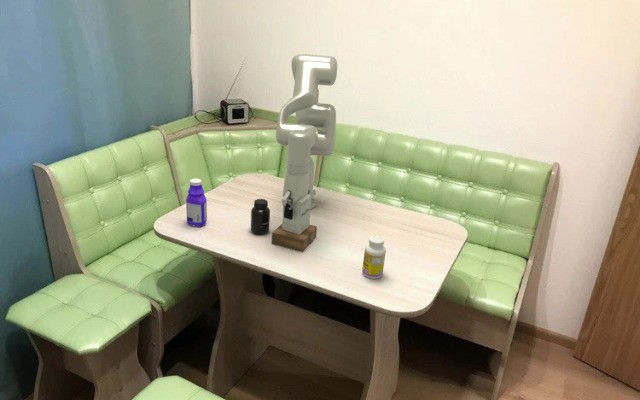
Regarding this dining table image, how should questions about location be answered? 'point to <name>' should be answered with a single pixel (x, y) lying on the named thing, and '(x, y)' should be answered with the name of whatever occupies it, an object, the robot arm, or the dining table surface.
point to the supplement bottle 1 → (260, 217)
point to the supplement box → (298, 216)
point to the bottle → (196, 204)
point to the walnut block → (294, 238)
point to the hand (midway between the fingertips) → (295, 213)
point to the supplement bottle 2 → (374, 258)
